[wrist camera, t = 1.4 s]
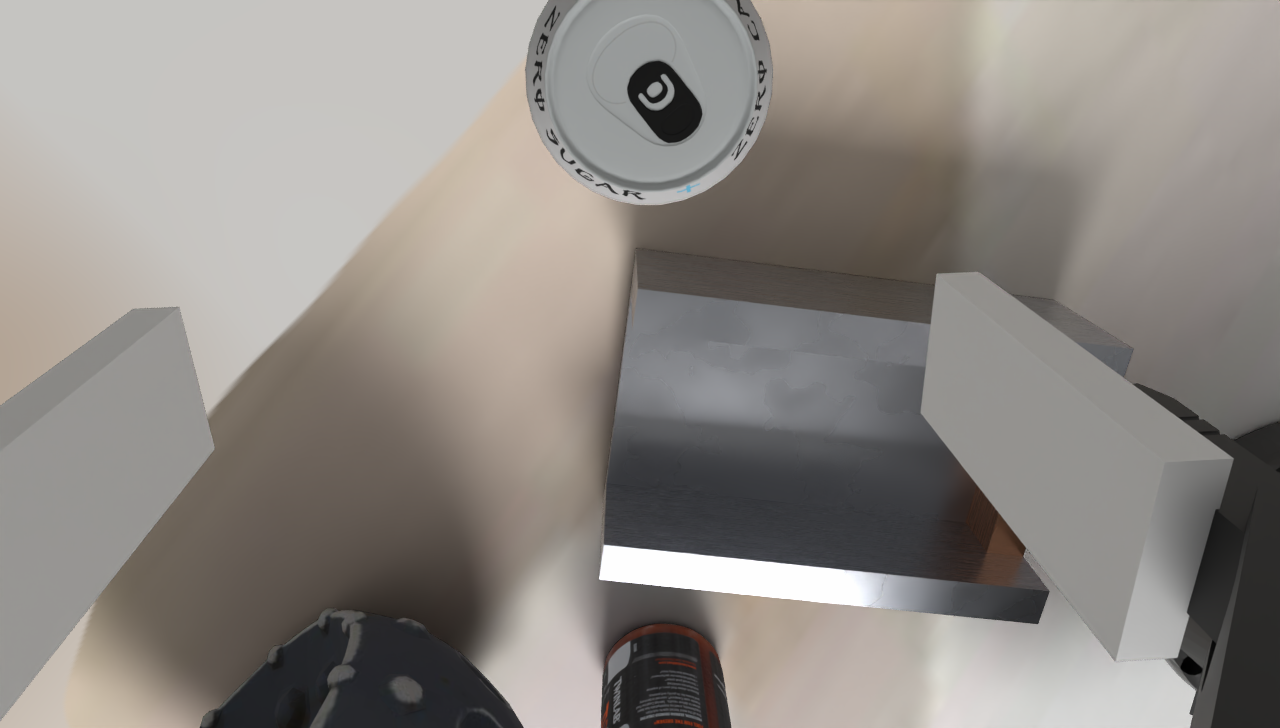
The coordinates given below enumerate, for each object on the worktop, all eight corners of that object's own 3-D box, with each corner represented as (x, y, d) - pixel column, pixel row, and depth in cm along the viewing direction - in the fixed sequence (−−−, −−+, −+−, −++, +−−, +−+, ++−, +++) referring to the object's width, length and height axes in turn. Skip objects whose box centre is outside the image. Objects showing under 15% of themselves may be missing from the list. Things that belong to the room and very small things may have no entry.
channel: (1054, 299, 37) (1133, 349, 31) (980, 541, 41) (1038, 623, 36) (635, 248, 36) (637, 288, 30) (602, 501, 40) (599, 579, 35)
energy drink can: (651, -57, 32) (671, -129, 18) (750, 75, 34) (837, 103, 20) (530, 53, 33) (460, 66, 19) (630, 175, 35) (633, 269, 21)
